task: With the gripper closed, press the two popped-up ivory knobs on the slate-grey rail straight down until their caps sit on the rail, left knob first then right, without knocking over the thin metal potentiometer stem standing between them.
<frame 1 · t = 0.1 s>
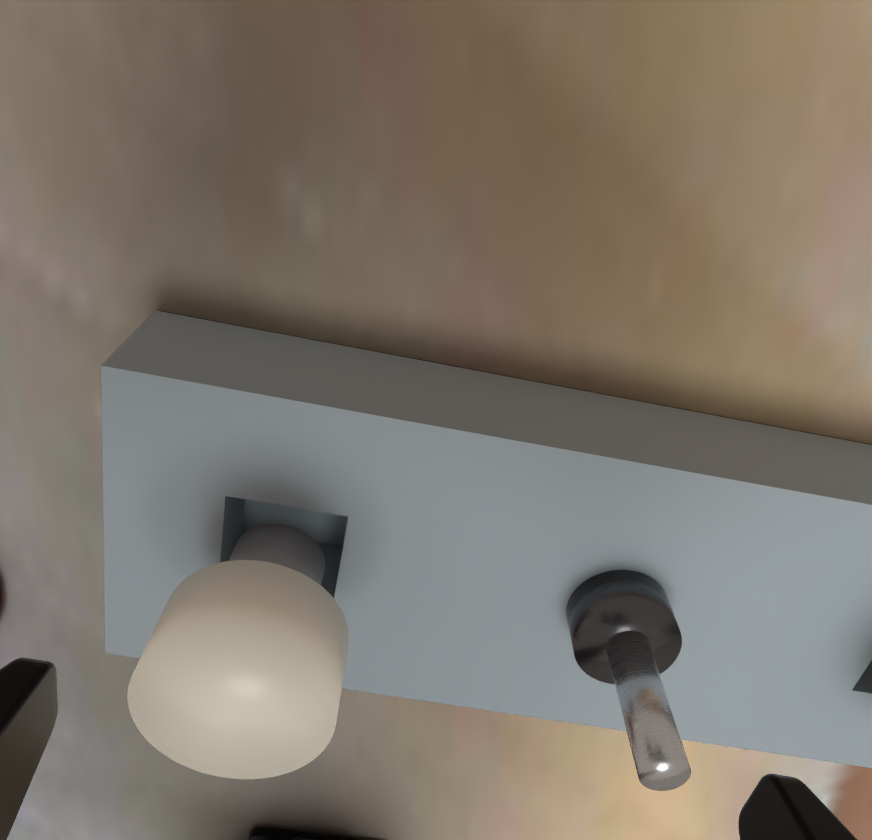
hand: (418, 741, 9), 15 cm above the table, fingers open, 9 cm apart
pot stem: (616, 609, 22), point 4 cm above the table, touching mount
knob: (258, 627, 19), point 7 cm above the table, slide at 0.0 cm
mount: (593, 528, 26), on the table
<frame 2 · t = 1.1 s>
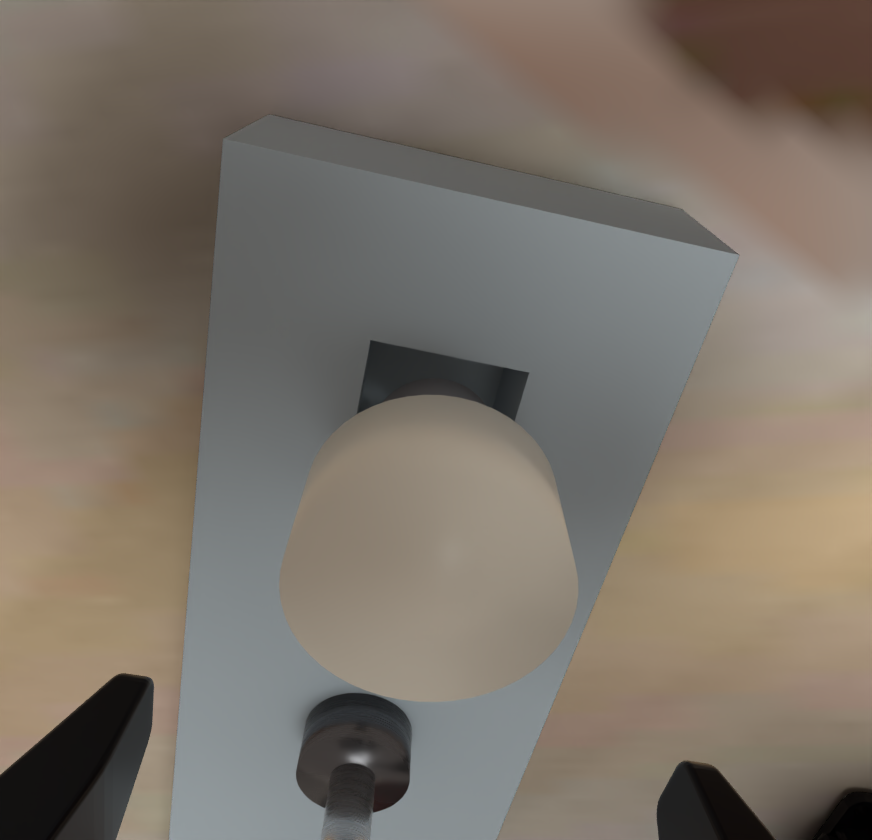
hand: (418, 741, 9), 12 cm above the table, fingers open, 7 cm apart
pot stem: (358, 730, 21), point 4 cm above the table, touching mount
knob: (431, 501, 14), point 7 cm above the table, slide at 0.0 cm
mount: (371, 628, 25), on the table
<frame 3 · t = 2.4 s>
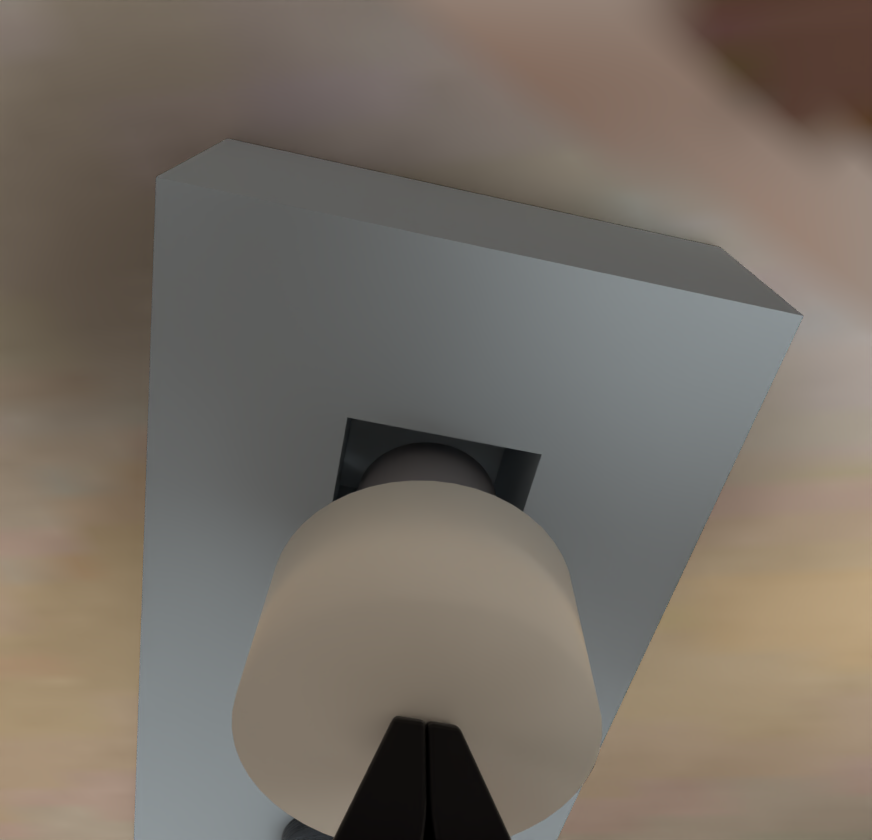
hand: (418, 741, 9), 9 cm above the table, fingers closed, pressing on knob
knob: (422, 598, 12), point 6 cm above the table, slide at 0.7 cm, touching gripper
mount: (359, 711, 22), on the table
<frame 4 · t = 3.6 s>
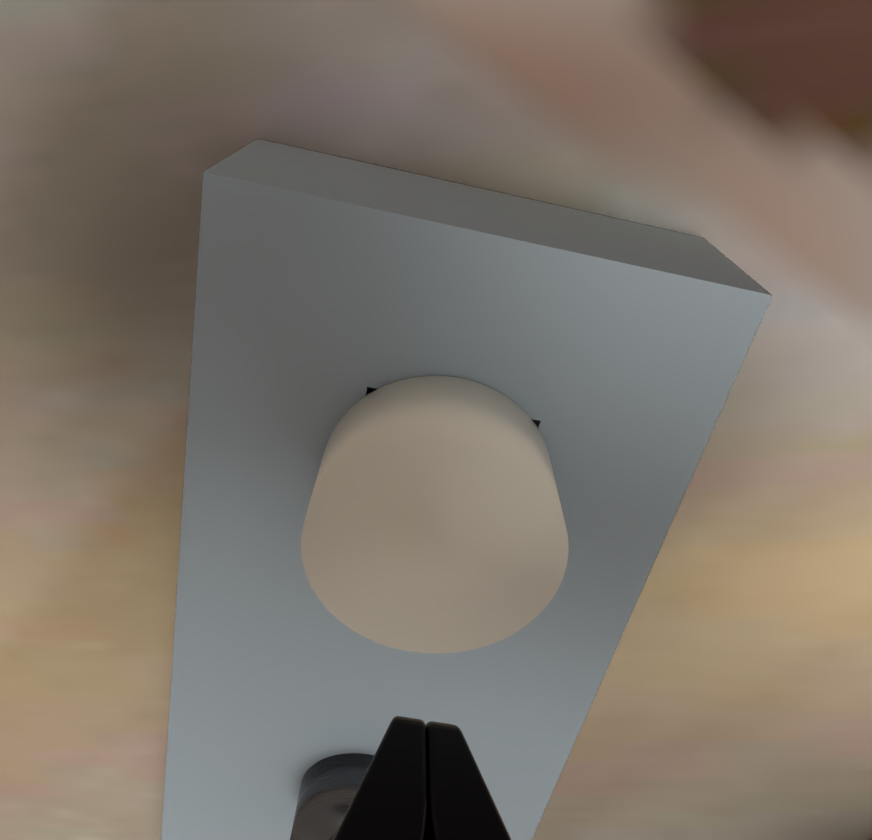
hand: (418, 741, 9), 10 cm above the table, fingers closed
pot stem: (357, 791, 20), point 4 cm above the table, touching mount
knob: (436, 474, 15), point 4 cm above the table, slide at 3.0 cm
mount: (371, 674, 23), on the table
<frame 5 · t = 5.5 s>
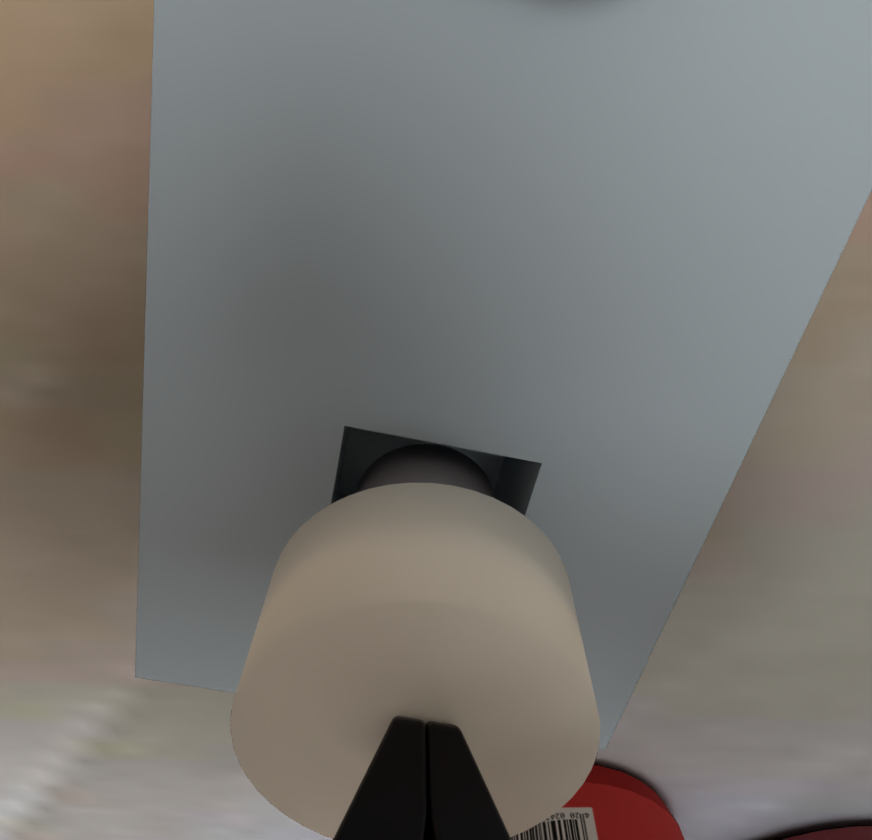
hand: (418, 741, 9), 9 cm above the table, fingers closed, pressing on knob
canned food: (552, 828, 24), on the table
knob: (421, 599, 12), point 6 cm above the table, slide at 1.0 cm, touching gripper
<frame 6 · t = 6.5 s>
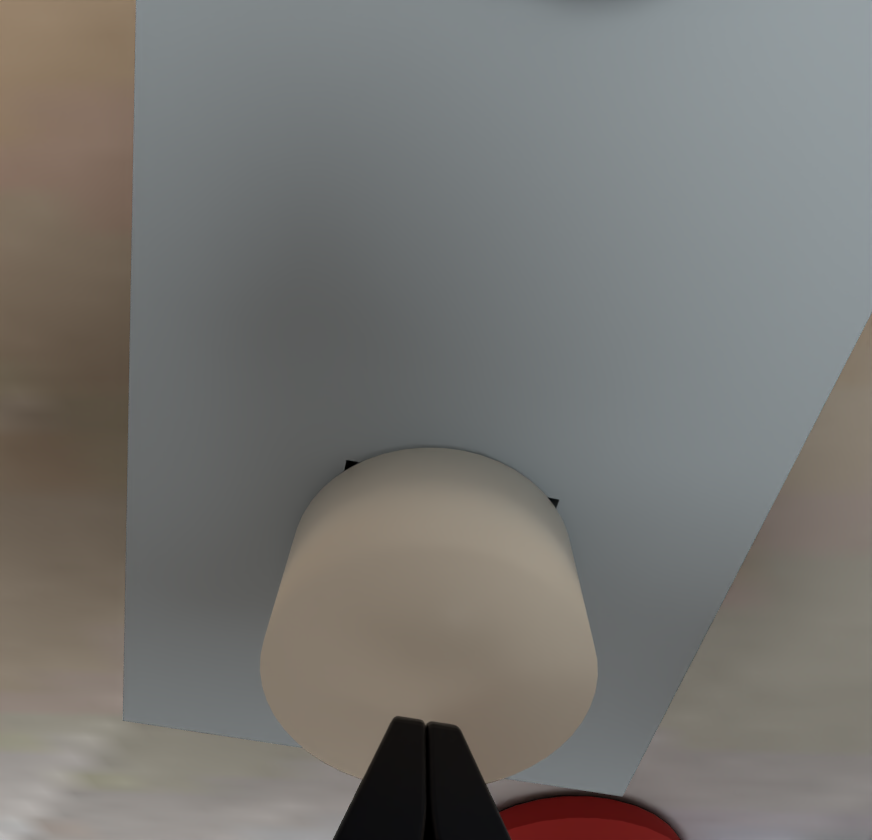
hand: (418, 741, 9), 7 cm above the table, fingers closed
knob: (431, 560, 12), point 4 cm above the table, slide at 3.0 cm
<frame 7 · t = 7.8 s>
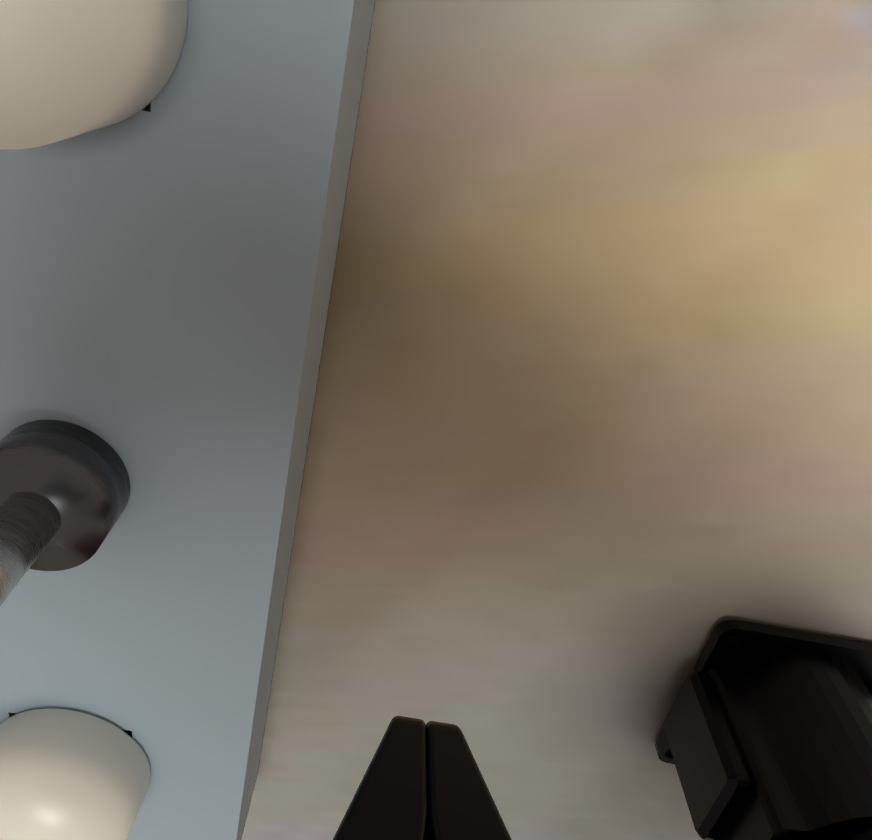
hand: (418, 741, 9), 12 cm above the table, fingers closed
pot stem: (64, 477, 17), point 4 cm above the table, touching mount
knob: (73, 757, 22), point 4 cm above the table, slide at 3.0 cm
mount: (129, 399, 21), on the table
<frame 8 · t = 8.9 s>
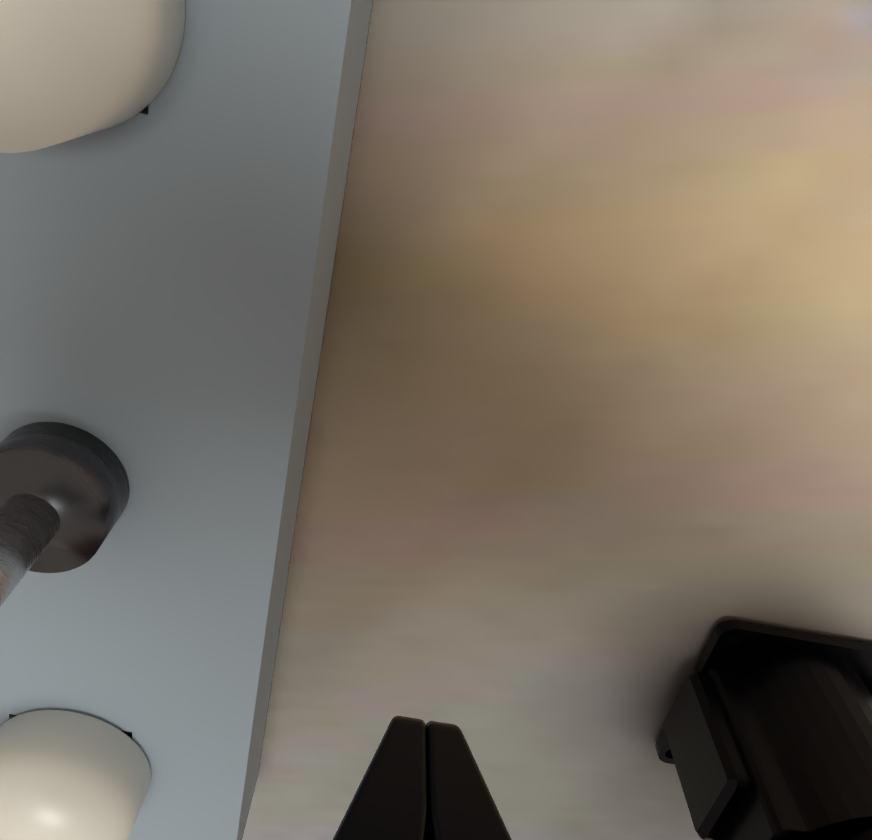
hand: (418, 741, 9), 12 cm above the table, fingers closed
pot stem: (63, 479, 17), point 4 cm above the table, touching mount
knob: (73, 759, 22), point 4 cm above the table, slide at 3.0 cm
mount: (128, 400, 21), on the table
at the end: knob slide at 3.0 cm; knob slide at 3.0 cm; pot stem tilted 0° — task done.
